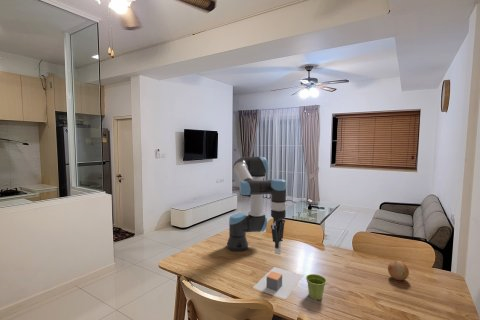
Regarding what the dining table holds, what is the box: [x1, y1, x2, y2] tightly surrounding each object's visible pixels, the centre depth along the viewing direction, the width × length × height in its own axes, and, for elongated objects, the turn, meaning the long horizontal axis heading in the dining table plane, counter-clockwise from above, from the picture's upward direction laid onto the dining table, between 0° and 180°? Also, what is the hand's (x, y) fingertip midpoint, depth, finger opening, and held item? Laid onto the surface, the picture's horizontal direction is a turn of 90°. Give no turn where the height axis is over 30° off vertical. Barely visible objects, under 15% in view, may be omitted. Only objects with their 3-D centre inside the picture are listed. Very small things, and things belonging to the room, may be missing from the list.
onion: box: [387, 259, 410, 281], centre depth 137 cm, size 10×10×10 cm
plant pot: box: [305, 273, 327, 301], centre depth 121 cm, size 9×9×9 cm
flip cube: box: [266, 270, 282, 291], centre depth 129 cm, size 6×6×6 cm
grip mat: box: [252, 266, 304, 300], centre depth 134 cm, size 18×26×1 cm
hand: (277, 253), depth 132 cm, fingers closed
